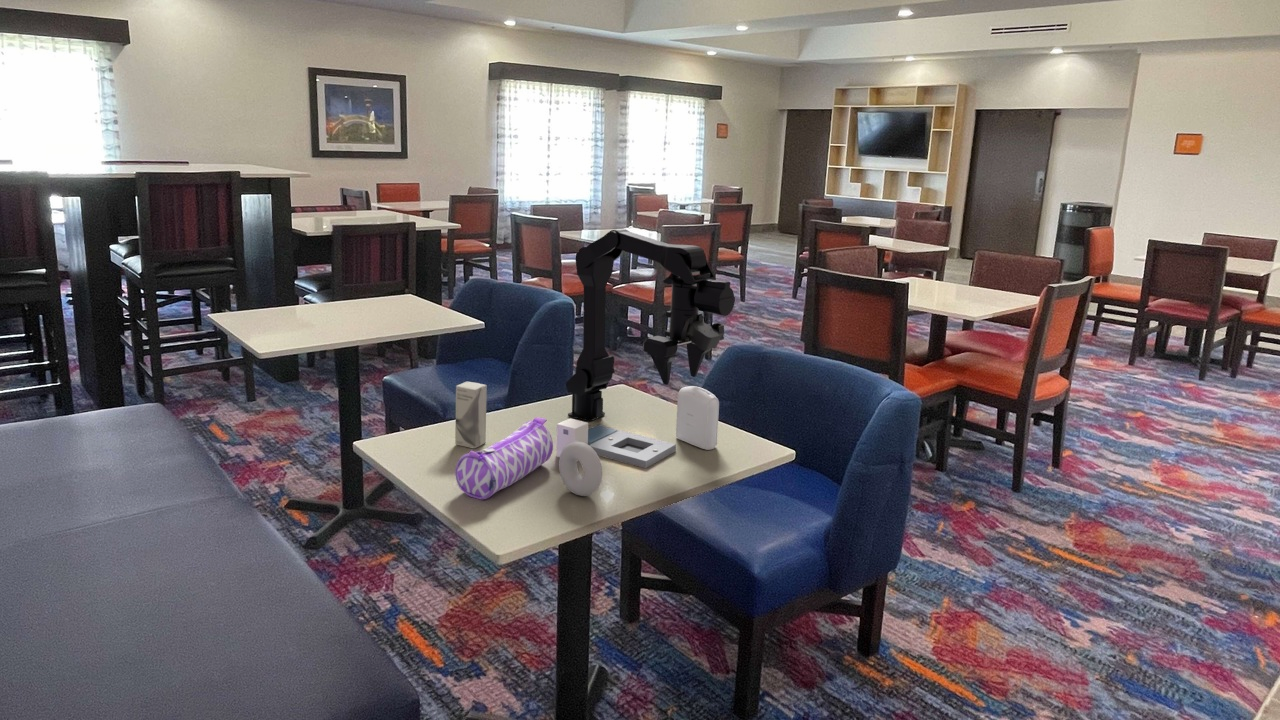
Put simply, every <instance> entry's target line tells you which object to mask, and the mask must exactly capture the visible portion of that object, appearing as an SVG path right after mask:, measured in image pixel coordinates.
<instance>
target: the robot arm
mask: <svg viewBox="0 0 1280 720" xmlns="http://www.w3.org/2000/svg"><path fill="white" fill-rule="evenodd" d="M624 252H626V253H629V254H632V255H636V256H638V257H641V258H644V259H647V260H650V261H652V262H656V263H657V264H659V265H660V266H661V267H662V268H663V269H664V270H666V271H667V272H669V273H670V274H669V275H668V276H667V277H666V278H665V279H663V280H662V281H663V284H666V285H671V300H670V301H671V302H670V310H667V311H666V312H665V317H667V318H669V327H668V328H669V330H664V336H661V335H655V336H650V337H646V338H645V340H643V343H642V344H643V347H642V350H643V352H645V353H646V354H647V355H649V356H650V357H651V359H652V361H653V363H654V365H655V367H656V370H657V372H658V374H659V377H660V378H661V382H662V384H663V385H666V386H667V385H669V384H670V379H671V373H672V372H671V371H672V365H673V362H674V360H675V359H676V358H677V357H678V355H677V354H676V353H677V351H678V347H682V346H686V351H687V359H688V360H687V361H688V368H689V373H690V377H692V378H696V377H697V374H699V373H698V372H699V371H700V367H701V365H702V363H703V361H704V358H705V356H706V354H707V353H708V352H709V351H710V350H712V349H713V350H714V349H717V347H718V345H719V344H720V341H723V340H724V339H725V337H724V336H725V335H724V334H725V325H724V324H723V323H721V321H720V322H714V323H712V324H711V323H706V322H704V316H703V313H708V314H713V315H719V316H723V317H726V316H729V315H730V314H731V312H732V311H733V309H734V307H735V303H736V296H735V293H734V290H733V288H731V282H730V281H728V280H718V279H717V278H716V276H715V274H714V272H713V270H712V268H711V266H710V264H709V262H708V260H707V256H706V255H707V254H706V253H705V250H704V249H703V248H702V247H701V246H699V245H692V244H691V245H690V244H688V245H687V244H671V243H666V242H665V241H664V242H663V241H661V240H658V239H654V238H651V237H647V236H644V235H641V234H638V233H635V232H632V231H630V230H628V229H626V228H619V229H612V230H610V231H608V232H607V233H605V234H604V235H603V236H602V237H600V238H598V239H597V240H595V241H593V242H590V244H588V245H587V246H583V247H581V248H579V250H578V251H576V254H575V259H574V260H575V266H576V267H575V269H576V274H577V276H578V279H579V280H580V282H581V284H582V286H583V287H582V288H583V315H582V316H583V324H582V325H583V330H582V331H583V332H582V333H583V334H582V335H583V336H582V338H583V339H582V342H583V344H582V345H583V347H582V350H581V351H580V352H581V353H580V355H579V356H578V359H577V360H576V364H575V365H576V366H575V371H574V374H573V375H572V376H571V377H570V378H569V379H568V380H567V381H566V382H565V387H566V390H567V392H568V393H571V411H570V412H569V413H567V416H568V417H570V418H573V419H577V420H581V421H582V420H583V421H585V422H586V421H587V422H592V421H594V420H596V419H599V418H601V417H603V416H605V415H606V412H604V411H603V409H604V398H603V397H602V393H603V391H602V390H606V389H607V387H608V386H609V382H610V381H611V380H612V378H613V375H614V374H615V373H616V372H615V367H614V365H615V364H614V363H615V357H614V355H609V353H608V351H607V349H606V297H607V296H606V295H607V294H606V291H607V290H606V288H607V284H608V283H609V281H610V278H611V276H612V275H613V269H614V263H615V261H616V260H617V259H618V258H620V257H621V256H622V254H623V253H624ZM699 311H700V312H699ZM701 312H702V313H701Z"/></svg>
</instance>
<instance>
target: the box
mask: <svg viewBox="0 0 1280 720" xmlns="http://www.w3.org/2000/svg"><path fill="white" fill-rule="evenodd" d="M487 389H488V387H487V384H483V383H479V382H473V381H464V382H462V383H460V384H457V385H455V431H454V432H455V434H454V435H455V437H454V438H455V442H454V444H455V445H458V446H461V447H466V448H471V449H476V448H478V447H480V446H482V445H484V444H485V443H486V438H487V437H486V436H487V435H486V434H487V433H486V432H487Z"/></svg>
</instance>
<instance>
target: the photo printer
mask: <svg viewBox="0 0 1280 720" xmlns="http://www.w3.org/2000/svg"><path fill="white" fill-rule="evenodd" d="M676 405H677V406H676V424H675V425H676V427H675V437H676V438H677V439H678V440H680V441H682V442H685V443H688V444H690V445H692V446H695V447H698V448H700V449H703V450H706V451H707V450H708V451H709V450H714V449H716V446H717V444H718V432H719V431H718V430H719V427H718V426H719V411H720V401H719V398H717V397H716V395H715V394H713V393H712V392H711V391H709V390H707V389H705V388H702V387H699V386H696V385H688V386H685V387H684V386H683V387H682V388H680V390H679V391H678V393H677V401H676Z"/></svg>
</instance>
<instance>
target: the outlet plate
mask: <svg viewBox="0 0 1280 720" xmlns="http://www.w3.org/2000/svg"><path fill="white" fill-rule="evenodd" d="M619 430H620V429H619ZM589 446H591V447H592V448H593V449H594V451H595V452H596V453H597V455H598V457H604V458H608V459H611V460H614V461H618V462H621V463H625V464H629V465H633V466H636V467H640V468H642V469H643V468H644V469H647V468H649V467H650V466H652V465H654V464H655V463H658V462H660V461H661V460H662V459H665V458H667V456H670V455H671V454H674V453H675V452H676V451H677V444H676V443H672V442H669V441H665V440H660V439H658V438H657V439H656V438H652V437H648V436H645V435H641V434H636V433H632V432H628V431H625V430H620V431H618V432H615V433H613V434H611V435H609V436H607V437H605V438H603V439H601V440H599V441H597V442H595V443H593V444H590V445H589Z"/></svg>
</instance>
